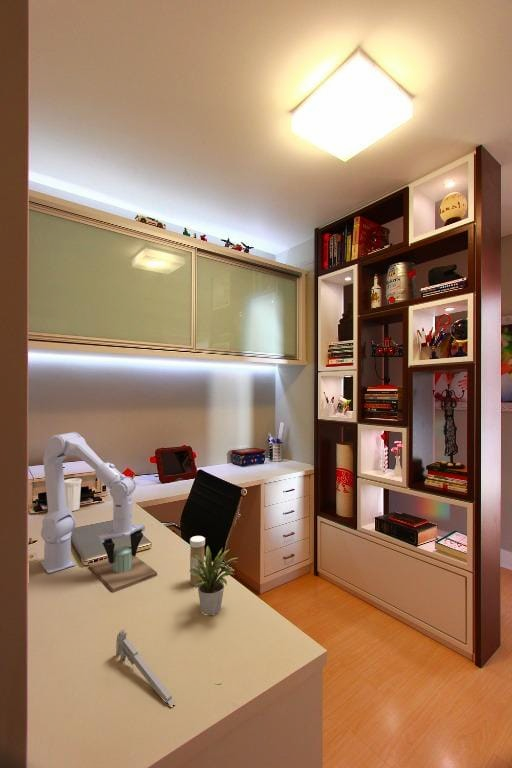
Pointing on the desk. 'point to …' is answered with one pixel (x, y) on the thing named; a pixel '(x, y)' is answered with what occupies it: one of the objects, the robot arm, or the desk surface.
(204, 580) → the house plant
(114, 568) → the cap
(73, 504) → the cup
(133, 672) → the desk surface
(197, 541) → the sprinkles bottle
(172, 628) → the desk surface
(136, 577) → the walnut board
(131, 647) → the caliper
